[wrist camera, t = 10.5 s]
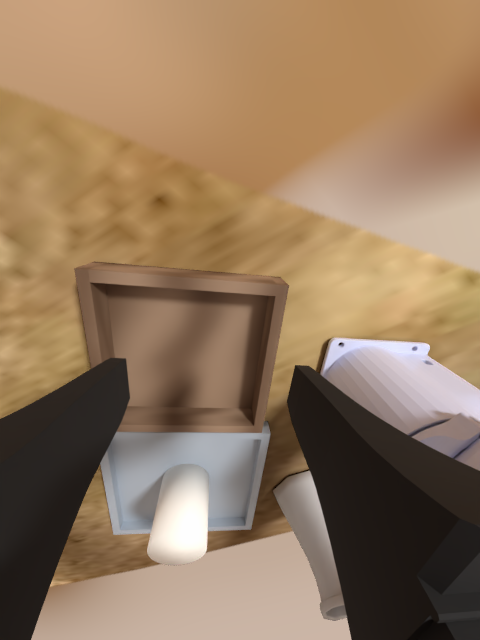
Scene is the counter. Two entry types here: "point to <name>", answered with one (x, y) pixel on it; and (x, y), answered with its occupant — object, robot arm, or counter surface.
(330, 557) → the flask
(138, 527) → the slate tray
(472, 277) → the counter surface
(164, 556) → the cream cylinder
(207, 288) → the brown square tray
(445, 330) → the counter surface
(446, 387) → the robot arm
